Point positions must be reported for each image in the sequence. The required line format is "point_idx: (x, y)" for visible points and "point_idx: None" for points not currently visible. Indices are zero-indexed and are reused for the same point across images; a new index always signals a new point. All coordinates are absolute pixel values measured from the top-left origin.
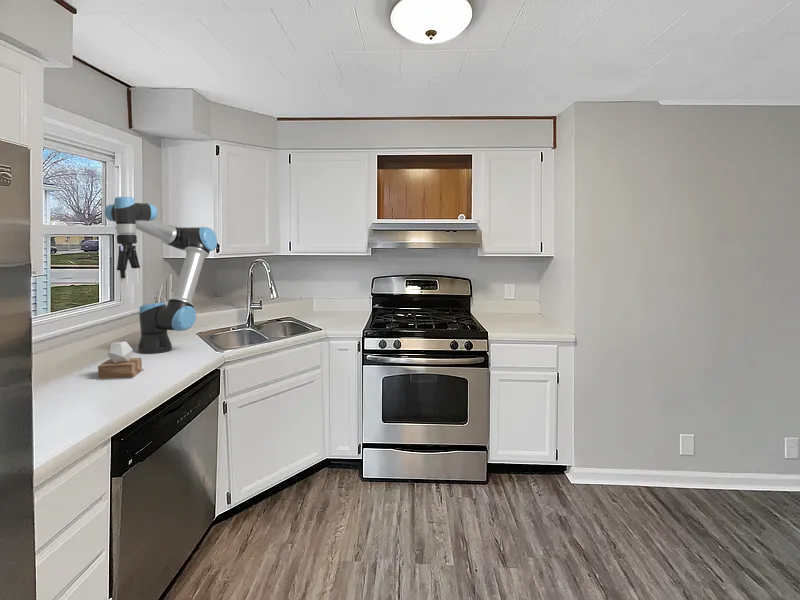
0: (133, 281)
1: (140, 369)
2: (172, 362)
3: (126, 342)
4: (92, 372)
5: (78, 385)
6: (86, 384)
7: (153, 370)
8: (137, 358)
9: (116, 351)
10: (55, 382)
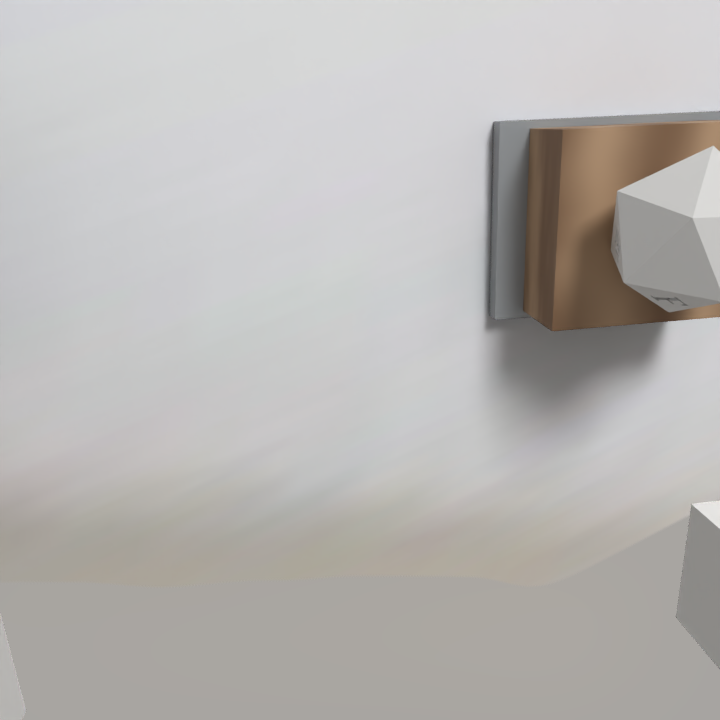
0: (3, 709)
1: (560, 127)
2: (241, 8)
3: (701, 207)
4: (450, 423)
5: (709, 364)
6: (701, 335)
7: (469, 75)
8: (576, 149)
9: None
10: (620, 494)
